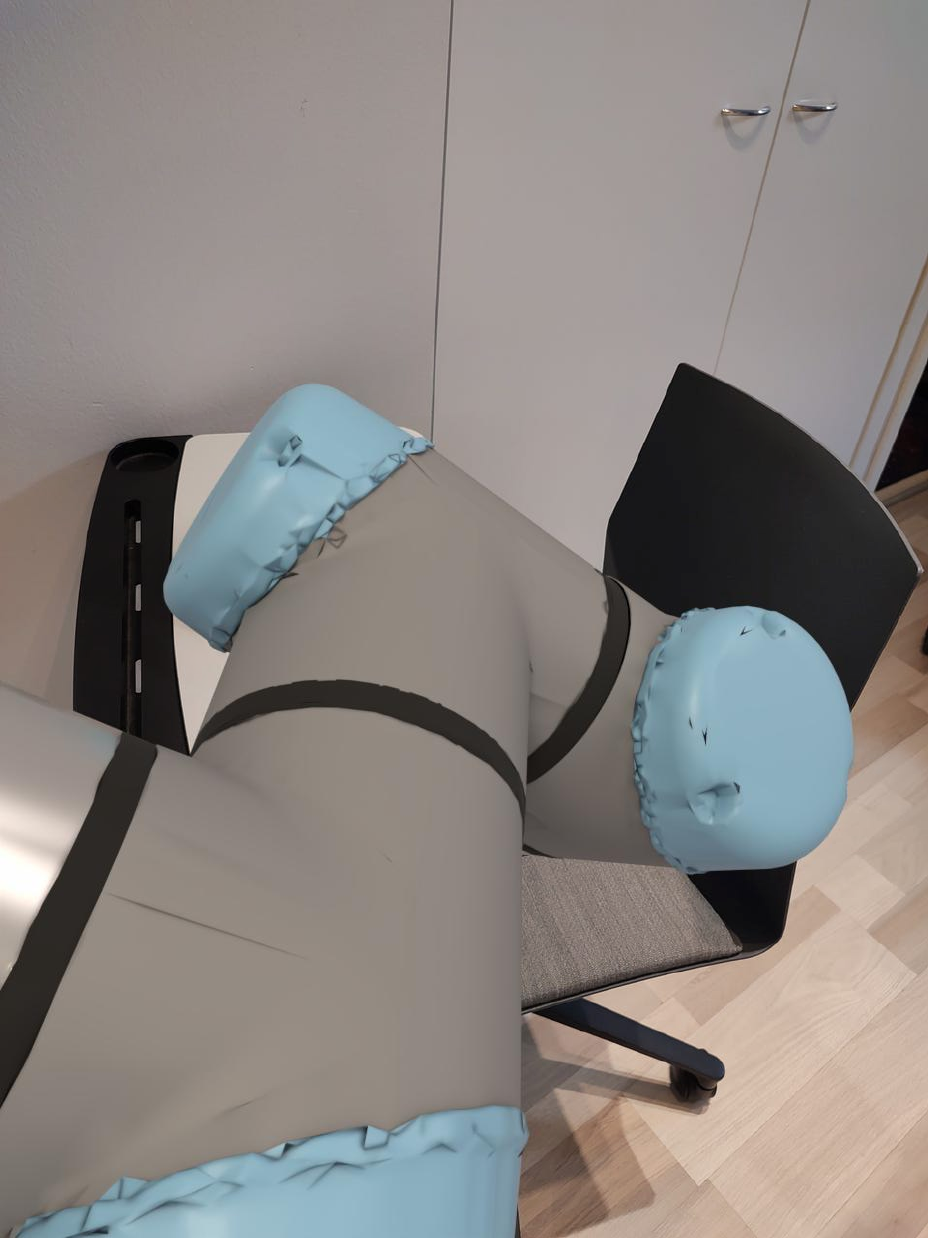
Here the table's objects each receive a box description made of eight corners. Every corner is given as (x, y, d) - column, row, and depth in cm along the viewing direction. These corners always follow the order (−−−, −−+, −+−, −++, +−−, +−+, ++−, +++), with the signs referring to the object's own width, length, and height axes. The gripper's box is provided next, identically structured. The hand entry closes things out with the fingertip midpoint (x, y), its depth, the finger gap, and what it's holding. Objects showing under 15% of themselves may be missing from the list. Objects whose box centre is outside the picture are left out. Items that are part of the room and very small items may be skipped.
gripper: (290, 1048, 31) (157, 962, 48) (700, 691, 44) (477, 727, 62) (179, 865, 30) (85, 846, 48) (631, 558, 43) (425, 633, 61)
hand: (306, 779), depth 55 cm, fingers open, 13 cm apart
